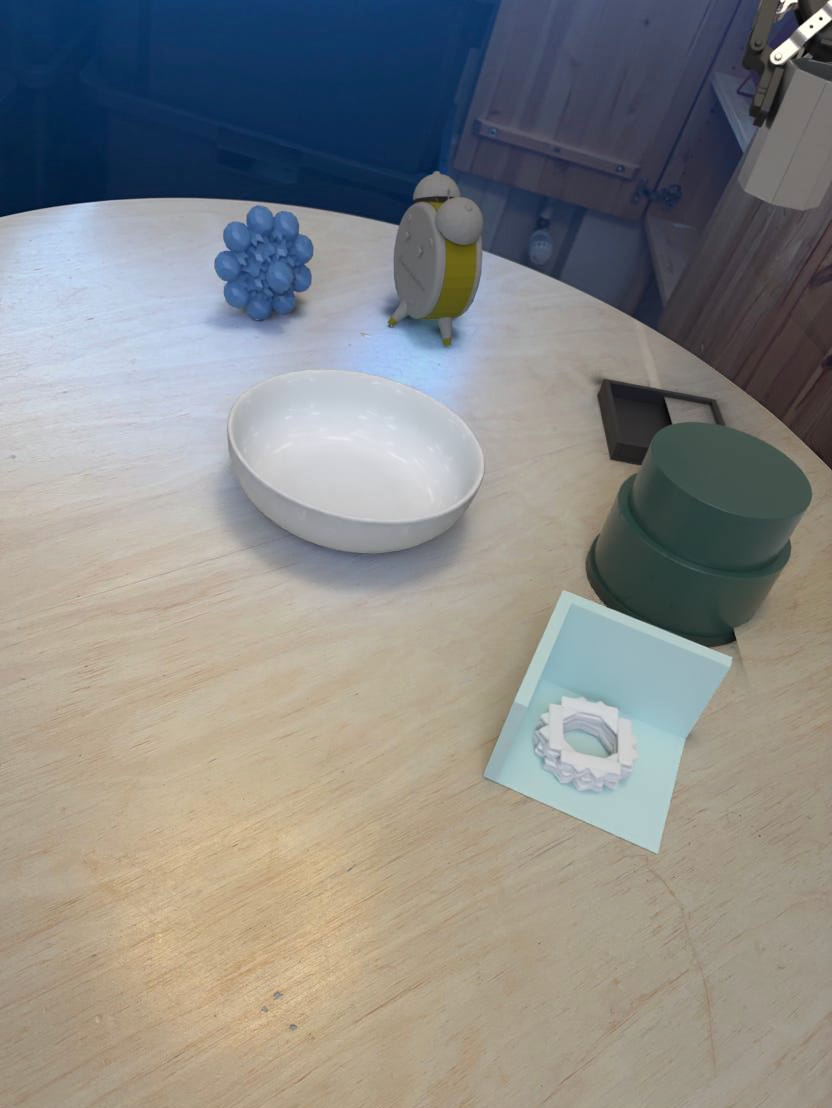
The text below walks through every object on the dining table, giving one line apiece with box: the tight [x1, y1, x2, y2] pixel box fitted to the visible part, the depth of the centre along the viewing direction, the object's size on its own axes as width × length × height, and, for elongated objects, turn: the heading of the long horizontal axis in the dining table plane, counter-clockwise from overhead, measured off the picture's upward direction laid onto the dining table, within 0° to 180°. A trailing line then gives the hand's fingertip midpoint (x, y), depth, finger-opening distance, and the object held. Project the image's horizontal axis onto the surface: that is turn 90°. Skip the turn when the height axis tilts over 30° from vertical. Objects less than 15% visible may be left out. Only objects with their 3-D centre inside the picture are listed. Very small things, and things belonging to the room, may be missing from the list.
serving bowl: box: [226, 368, 486, 554], centre depth 81 cm, size 21×21×7 cm
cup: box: [737, 57, 832, 211], centre depth 78 cm, size 6×6×9 cm
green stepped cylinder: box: [585, 421, 813, 648], centre depth 78 cm, size 15×15×12 cm
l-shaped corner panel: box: [482, 589, 733, 855], centre depth 65 cm, size 12×12×8 cm
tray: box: [597, 378, 726, 466], centre depth 99 cm, size 12×12×2 cm
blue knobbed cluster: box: [213, 204, 314, 321], centre depth 99 cm, size 12×7×12 cm, turn 124°
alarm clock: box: [387, 170, 484, 347], centre depth 103 cm, size 12×7×15 cm, turn 19°
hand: (807, 133), depth 76 cm, fingers closed on cup, 7 cm apart
